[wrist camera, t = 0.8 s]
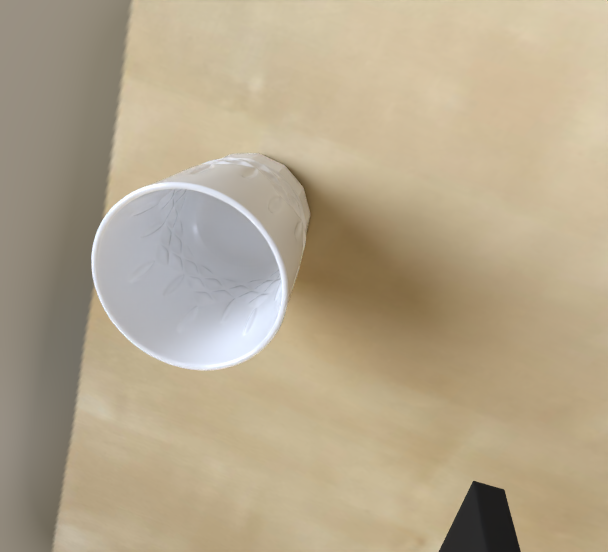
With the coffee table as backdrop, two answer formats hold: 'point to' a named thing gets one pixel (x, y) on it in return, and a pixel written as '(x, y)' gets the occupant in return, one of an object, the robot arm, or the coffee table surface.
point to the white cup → (203, 260)
